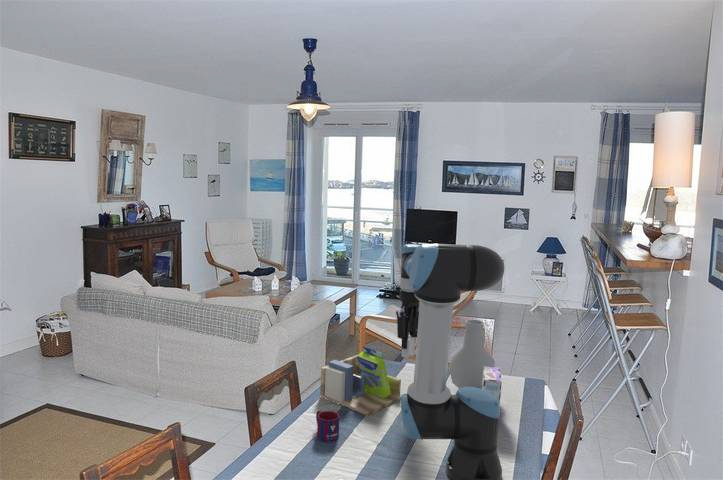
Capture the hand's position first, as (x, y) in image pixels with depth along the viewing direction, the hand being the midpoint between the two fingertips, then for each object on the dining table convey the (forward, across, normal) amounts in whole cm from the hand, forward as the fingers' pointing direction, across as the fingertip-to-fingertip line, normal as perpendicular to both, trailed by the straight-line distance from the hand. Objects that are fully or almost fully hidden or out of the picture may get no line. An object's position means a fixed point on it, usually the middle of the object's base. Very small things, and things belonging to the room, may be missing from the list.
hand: (407, 356), depth 193 cm
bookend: (+18, -6, +20) cm, 28 cm away
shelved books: (+18, -12, +21) cm, 30 cm away
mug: (+19, -34, +6) cm, 39 cm away
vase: (+19, +26, -11) cm, 34 cm away
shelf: (+19, -5, +16) cm, 25 cm away
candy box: (+19, +12, -26) cm, 34 cm away
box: (+17, 0, +12) cm, 21 cm away
